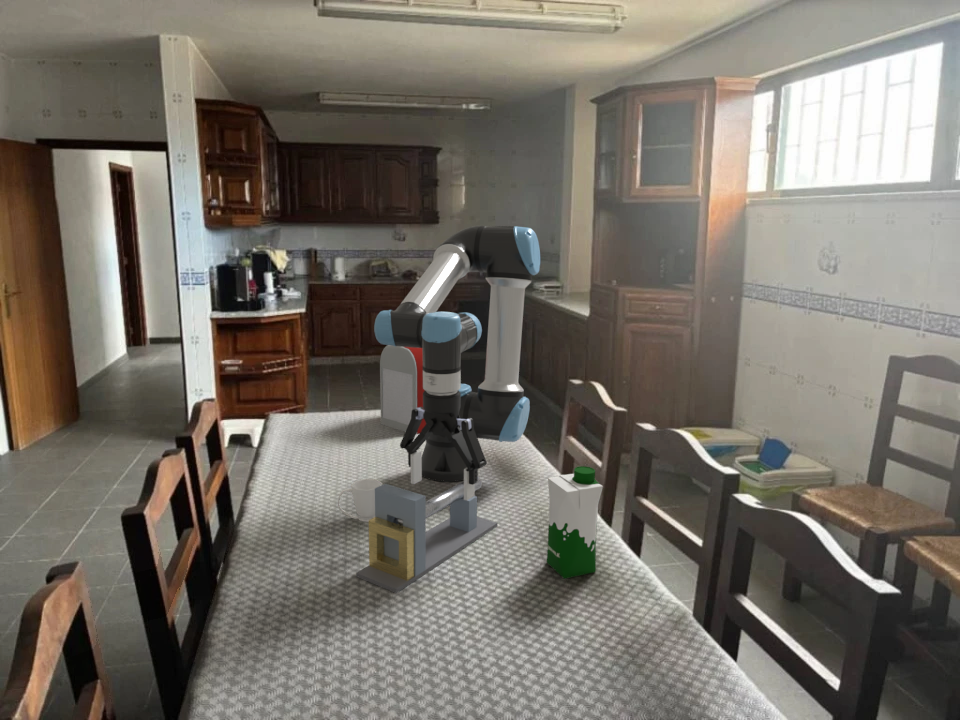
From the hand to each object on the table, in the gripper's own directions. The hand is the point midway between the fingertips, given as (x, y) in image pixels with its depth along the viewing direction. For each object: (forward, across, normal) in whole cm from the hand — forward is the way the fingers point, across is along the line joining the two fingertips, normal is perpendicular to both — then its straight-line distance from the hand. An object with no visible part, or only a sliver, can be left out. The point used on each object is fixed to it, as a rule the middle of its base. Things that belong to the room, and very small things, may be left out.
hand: (442, 489), depth 146 cm
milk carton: (+12, +27, +6) cm, 30 cm away
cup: (+12, -22, -1) cm, 25 cm away
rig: (+12, 0, -4) cm, 12 cm away
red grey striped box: (+14, -57, +61) cm, 85 cm away
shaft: (+4, 0, -1) cm, 4 cm away
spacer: (+6, 0, -16) cm, 17 cm away
